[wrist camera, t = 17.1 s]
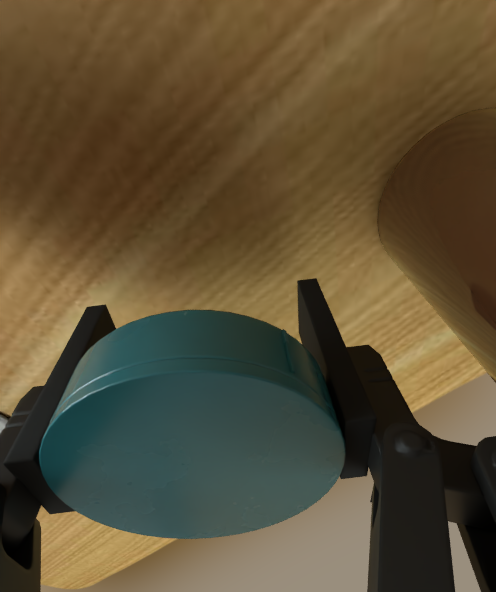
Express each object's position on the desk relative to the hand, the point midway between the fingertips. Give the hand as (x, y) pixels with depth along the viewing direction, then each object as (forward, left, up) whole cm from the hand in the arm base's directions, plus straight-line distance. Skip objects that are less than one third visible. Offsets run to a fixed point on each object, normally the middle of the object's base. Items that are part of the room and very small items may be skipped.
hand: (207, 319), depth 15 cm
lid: (0, 0, +6) cm, 6 cm away
